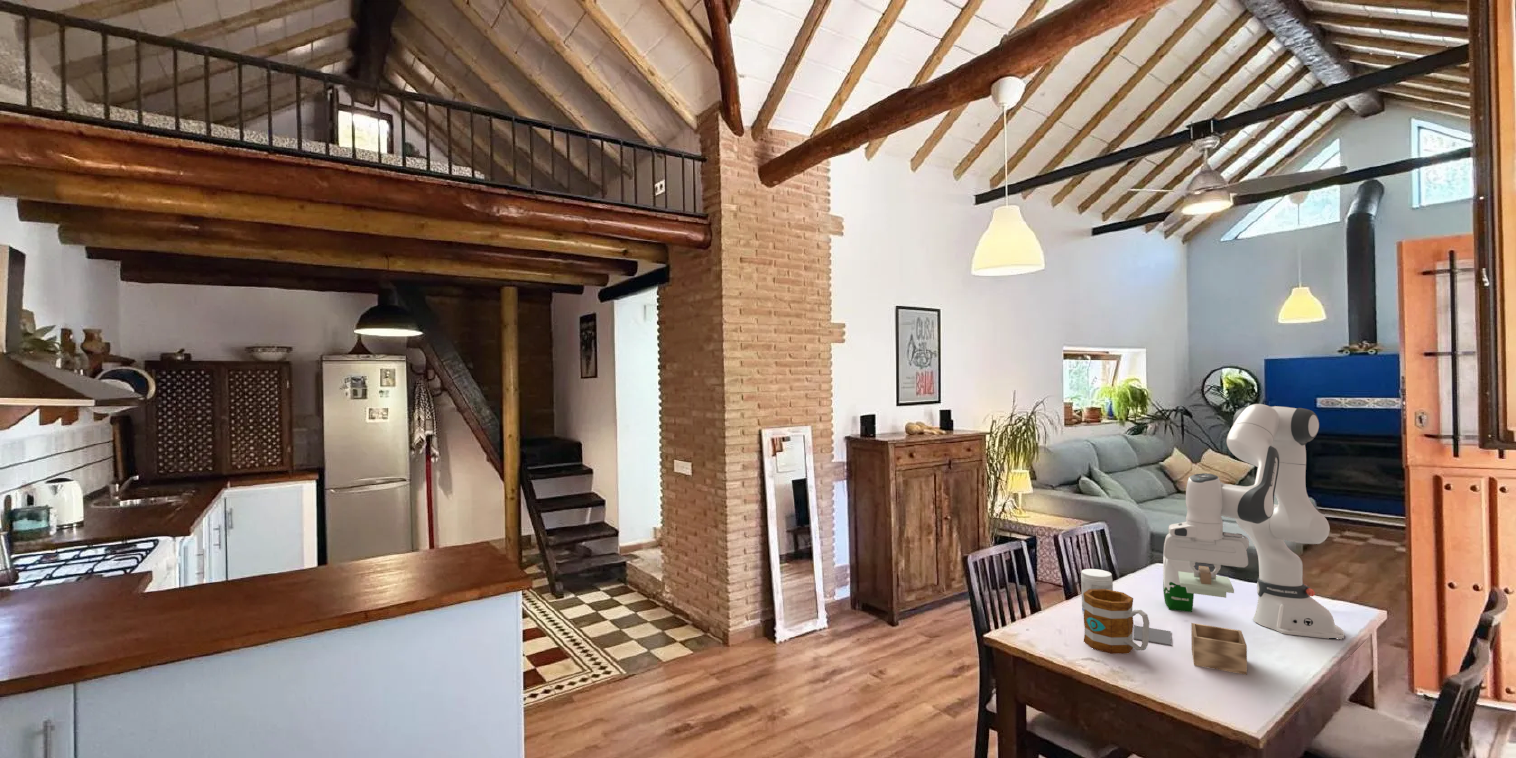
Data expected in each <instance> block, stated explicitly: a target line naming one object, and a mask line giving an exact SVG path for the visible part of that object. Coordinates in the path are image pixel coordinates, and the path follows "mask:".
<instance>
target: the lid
mask: <svg viewBox="0 0 1516 758" xmlns="http://www.w3.org/2000/svg"><path fill="white" fill-rule="evenodd" d="M1198 570H1199V571H1200V578H1198V577H1194V573H1188V572H1179V571H1178V575H1179V580H1180V585H1181V587H1186V590H1187V593H1194V595H1195V594H1196V595H1203V596H1210V597H1219V598H1225V599H1226V598H1227V593H1229V594H1230V593H1231V594H1235V589H1234V586H1233V584H1232V583H1231V582H1232V581H1231V579H1230V578H1229V576H1220V575H1216V580H1214V579H1211V572H1212V571H1211V570H1210V568H1209V566H1204V565H1198Z"/></svg>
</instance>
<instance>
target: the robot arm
mask: <svg viewBox="0 0 1516 758" xmlns="http://www.w3.org/2000/svg"><path fill="white" fill-rule="evenodd" d="M1319 421H1320V420H1319V418H1318V415H1317V414H1316V413H1315V412H1314V411H1313V410H1310V409H1308V408H1302V407H1298V408H1295V407H1289V406H1280V405H1279V406H1278V405H1277V406H1276V405H1274V406H1270V405H1266V404H1263V403H1253V404H1250V405H1247V406H1243V407H1241V408H1239V409H1237V411H1236V412H1235V413H1234V415H1233V419H1232V426H1231V428H1230V430H1229V432H1228V433H1227V436H1226V445H1227V448H1228V450H1229V452H1230V453H1232V455H1233V456H1235V457H1236V458H1237V459H1239V460H1240V461H1243V462H1244V463H1248V464H1250V465H1251V466H1252V465H1253V466H1254V467H1257V470H1256V474H1255V481H1254V484H1251V485H1248V486H1243V485H1236V484H1229V483H1224V482H1221V480H1220V477H1219V476H1218V475H1216V474H1213V473H1207V472H1206V473H1205V472H1204V473H1196V474H1195V473H1194V474H1192V475H1190V476H1189V477H1188V478H1187V479H1188V480H1187V482H1186V489H1185V506H1186V511H1187V512H1186V515H1185V516H1186V517H1185V521H1182V522H1178V523H1171V524H1169V525H1168V531H1167V532H1168V533H1167V534H1166V535H1165V539H1164V543H1163V556H1165V557H1166V558H1167V559H1171V560H1180V561H1189V565H1190V567H1191V568H1192V570H1193V571H1194V577H1198V578H1200V571H1199V569H1198V570H1197V569H1196V568H1195V566H1196V563H1199V564H1210V565H1213V566H1214V569H1213V571H1210V572H1211V579H1214V580H1216V576H1217V574H1218V573H1219V572H1220V570H1221V567H1222V566H1227V567H1237V568H1246V567H1247V566H1248V565H1249V558H1248V551H1247V550H1248V549H1249V546H1250V544H1249V543H1250V542H1249V541H1250V540H1251V542H1252V544H1253V545H1254V548H1255V550H1256V554H1257V558H1258V559H1257V560H1258V575H1259V576H1258V577H1257V582H1256V592H1257V596H1258V598H1257V605H1256V609H1255V612H1254V616H1253V621H1254V622H1255V623H1256V624H1259V625H1260V626H1263V627H1266V628H1268V629H1272V630H1274V631H1277V632H1278V633H1281V634H1284V635H1292V636H1293V635H1294V636H1300V637H1301V636H1302V637H1309V638H1310V637H1311V638H1320V639H1329V638H1336V639H1335V640H1339V639H1341V640H1343V639H1345V637H1344V636H1345V631H1344V630H1343V629H1342V628H1341V627H1339V626H1338V625H1336V624H1335V619H1334V616H1333V615H1332V613H1331V612H1330V611H1329V609H1328V608H1326V607H1325V606H1324V605H1322V604H1321V603H1320V602H1319V601H1317V600H1316V599H1314V598H1312V597H1314V596H1315V595H1316V592H1315V591H1314V589H1312V588H1311V587H1310V586H1308V585H1307V584H1306V583H1305V584H1304V583H1303V561H1302V559H1301V558H1300V557H1299V555H1298V554H1296V553H1295V552H1293V550H1291V549H1290V548H1289V547H1288V545H1287V544H1286V542H1285V541H1287V542H1293V543H1298V544H1302V545H1303V544H1304V545H1305V544H1306V545H1308V544H1309V545H1316V544H1317V545H1320V544H1322V543H1324V542H1325V541H1326V539H1327V538H1328V537H1329V534H1330V531H1331V530H1330V528H1331V527H1330V524H1329V521H1328V520H1327V518H1326V517H1325V516H1324V515H1323V514H1322V513H1321V512H1319V511H1318V510H1317V508H1316V507H1315V506H1314V505H1313V503H1312V502H1311V499H1310V497H1309V495H1308V492H1307V487H1306V484H1307V483H1306V473H1307V472H1306V470H1307V450H1306V449H1307V448H1306V445H1307V443H1309V442H1311V441H1313V440H1314V438H1316V436H1317V434H1318V433H1319V428H1320V422H1319ZM1275 498H1276V499H1277V503H1278V504H1275ZM1223 517H1225V518H1228V519H1229V518H1230V519H1235V522H1236V524H1237V525H1238V527H1239V528H1240V529H1241V530H1243V531H1244V532H1245V533H1246V534H1247V536H1248V537H1249V538H1250V540H1249V538H1248V537H1247V536H1246V535H1243V534H1242V533H1238V532H1237V533H1235V532H1234V533H1232V532H1226V531H1223V530H1224V529H1223V525H1224V522H1223ZM1337 638H1338V639H1337ZM1342 638H1343V639H1342Z"/></svg>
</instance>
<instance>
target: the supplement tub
mask: <svg viewBox="0 0 1516 758" xmlns="http://www.w3.org/2000/svg"><path fill="white" fill-rule="evenodd" d="M1113 581H1114V580H1113V574H1112V573H1111V572H1110V571H1107V570H1103V569H1096V568H1085V569H1082V570H1081V574H1080V582H1081V583H1080V585H1081V588H1080V589H1081V612H1082V614H1083V615H1084V609H1085V606H1084V595H1083V593H1084V592H1086V591H1087V590H1088V589H1108V590H1113V591H1114V587H1113V586H1114V584H1113Z"/></svg>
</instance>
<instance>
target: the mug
mask: <svg viewBox="0 0 1516 758" xmlns="http://www.w3.org/2000/svg"><path fill="white" fill-rule="evenodd" d="M1083 595H1084V606H1085V609H1084V614H1083V625H1084V636H1083V643H1084V642H1085V644H1086V645H1087V646H1088V647H1089V648H1091V649H1092V648H1093V649H1092V650H1095V649H1096V650H1095V651H1100V652H1103V653H1107V654H1111V655H1115V654H1117V655H1118V654H1121V655H1123V654H1124V655H1125V654H1128V655H1129V654H1130V653H1132V651H1133V649H1134V650H1136V651H1145V650H1146V649H1147V648H1148V646H1149V642H1148V638H1149V628H1150V620H1149V616H1148V614H1147V613H1146V612H1145V611H1143V610H1142V609H1134V610H1133V605H1134V604H1133V603H1134V598H1133V597H1132V596H1130V595H1128V594H1127V593H1125V592H1123V591H1117V590H1114V589H1113V590H1108V589H1088V590H1087V591H1086V592H1084V593H1083ZM1136 615H1140V617H1141V618H1142V623H1143V624H1142V627H1143V630H1142V641H1141V644H1140V645H1138V644H1137V643H1136V642H1134V641H1133V640H1134V639H1133V638H1134V637H1133V633H1134V617H1135V616H1136Z"/></svg>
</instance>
